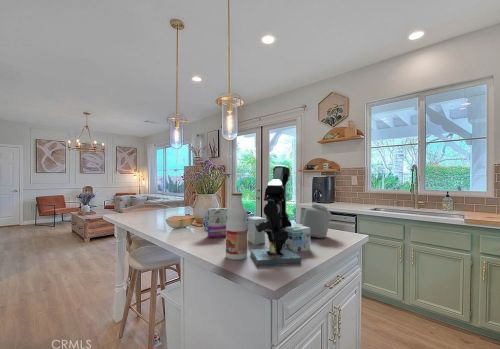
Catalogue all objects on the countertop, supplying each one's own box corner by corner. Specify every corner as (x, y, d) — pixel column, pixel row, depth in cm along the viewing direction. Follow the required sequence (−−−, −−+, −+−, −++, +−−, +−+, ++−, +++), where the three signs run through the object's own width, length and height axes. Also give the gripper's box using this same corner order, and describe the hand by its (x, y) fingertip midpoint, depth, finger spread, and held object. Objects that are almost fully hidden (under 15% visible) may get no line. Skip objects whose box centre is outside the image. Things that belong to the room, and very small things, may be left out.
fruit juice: (248, 260, 100) (248, 193, 100) (225, 260, 99) (226, 193, 99) (246, 252, 109) (246, 192, 109) (225, 253, 108) (226, 192, 108)
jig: (288, 252, 110) (288, 247, 110) (300, 263, 96) (301, 257, 96) (250, 254, 106) (250, 249, 106) (257, 266, 93) (257, 260, 93)
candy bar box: (226, 235, 142) (226, 207, 142) (227, 237, 137) (227, 208, 137) (207, 236, 139) (207, 208, 139) (207, 238, 134) (208, 209, 135)
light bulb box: (293, 253, 109) (293, 229, 109) (284, 249, 115) (284, 226, 115) (311, 249, 114) (311, 227, 114) (301, 246, 120) (301, 224, 120)
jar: (334, 235, 144) (334, 193, 144) (335, 241, 130) (335, 195, 130) (302, 232, 149) (302, 192, 149) (300, 238, 135) (300, 194, 135)
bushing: (277, 257, 104) (277, 240, 104) (280, 260, 99) (281, 243, 99) (268, 257, 103) (268, 241, 103) (270, 261, 99) (270, 244, 99)
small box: (265, 243, 125) (265, 218, 125) (254, 244, 122) (254, 219, 122) (258, 239, 132) (258, 216, 132) (247, 240, 130) (247, 216, 130)
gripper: (251, 210, 109) (251, 245, 109) (261, 218, 91) (261, 259, 90) (275, 210, 111) (275, 243, 111) (289, 217, 93) (289, 257, 93)
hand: (274, 250), depth 101 cm, fingers open, 9 cm apart
